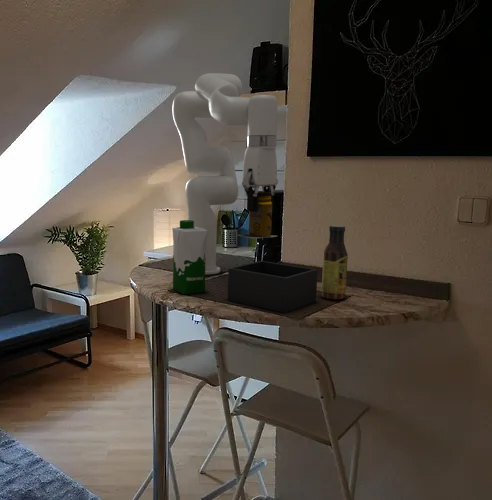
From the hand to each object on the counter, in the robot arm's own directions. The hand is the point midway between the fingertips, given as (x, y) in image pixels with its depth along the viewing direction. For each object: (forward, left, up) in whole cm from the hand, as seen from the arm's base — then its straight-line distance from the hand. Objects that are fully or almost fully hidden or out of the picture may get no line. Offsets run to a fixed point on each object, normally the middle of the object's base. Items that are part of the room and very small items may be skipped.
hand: (259, 210), depth 157 cm
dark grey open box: (+6, -2, -24) cm, 25 cm away
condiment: (0, -1, -7) cm, 7 cm away
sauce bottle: (+16, +13, -24) cm, 32 cm away
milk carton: (-17, -9, -24) cm, 31 cm away
